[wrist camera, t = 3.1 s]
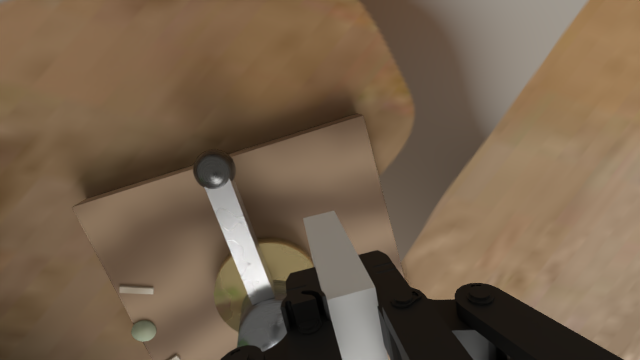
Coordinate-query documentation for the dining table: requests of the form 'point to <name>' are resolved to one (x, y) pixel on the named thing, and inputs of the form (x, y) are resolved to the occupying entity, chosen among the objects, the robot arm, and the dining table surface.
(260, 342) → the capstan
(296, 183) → the board
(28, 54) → the dining table surface
